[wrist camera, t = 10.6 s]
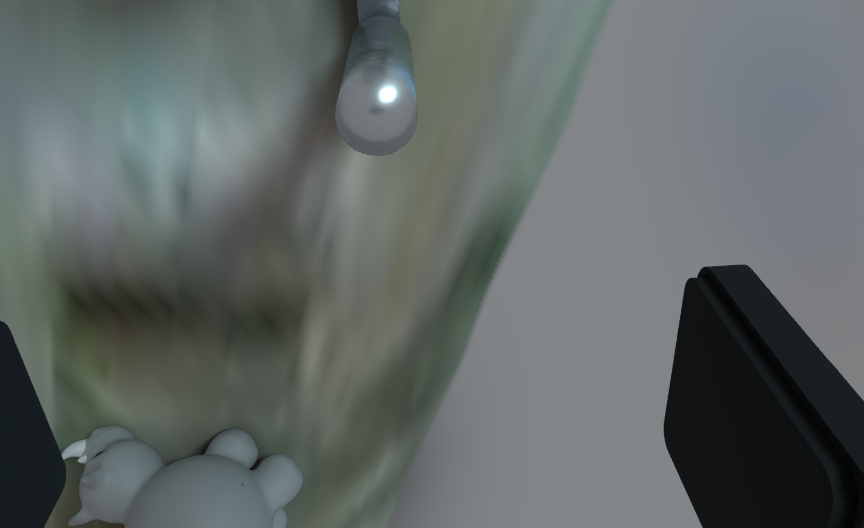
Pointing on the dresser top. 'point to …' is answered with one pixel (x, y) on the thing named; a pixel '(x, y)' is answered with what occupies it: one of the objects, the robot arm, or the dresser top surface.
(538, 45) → the dresser top surface
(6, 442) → the robot arm
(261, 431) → the dresser top surface
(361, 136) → the gray frame with handle
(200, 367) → the dresser top surface
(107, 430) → the round bodied animal figurine
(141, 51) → the dresser top surface
